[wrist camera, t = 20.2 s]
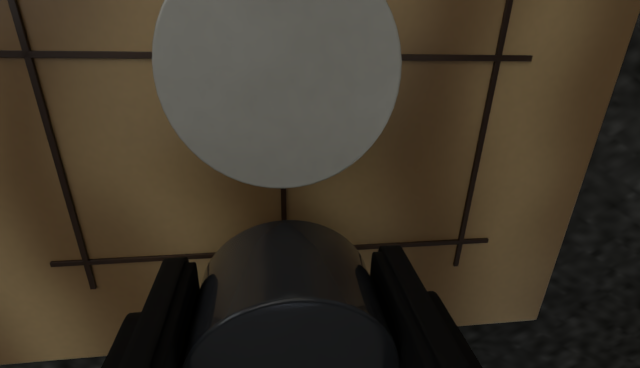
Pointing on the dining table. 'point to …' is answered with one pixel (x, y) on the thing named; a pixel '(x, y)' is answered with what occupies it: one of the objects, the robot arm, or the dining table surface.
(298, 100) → the white stone
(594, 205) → the dining table surface
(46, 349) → the board
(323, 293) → the hockey puck
